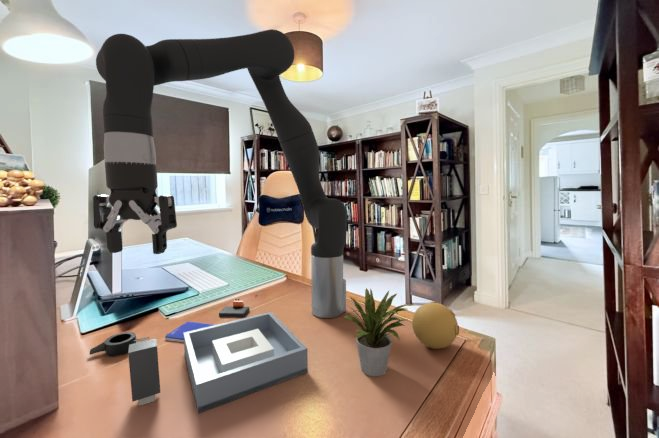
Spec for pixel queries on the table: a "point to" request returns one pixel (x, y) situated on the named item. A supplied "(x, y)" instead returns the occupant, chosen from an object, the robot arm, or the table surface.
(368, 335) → the house plant
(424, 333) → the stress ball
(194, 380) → the walled box
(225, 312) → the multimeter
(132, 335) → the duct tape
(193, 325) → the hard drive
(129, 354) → the plug
